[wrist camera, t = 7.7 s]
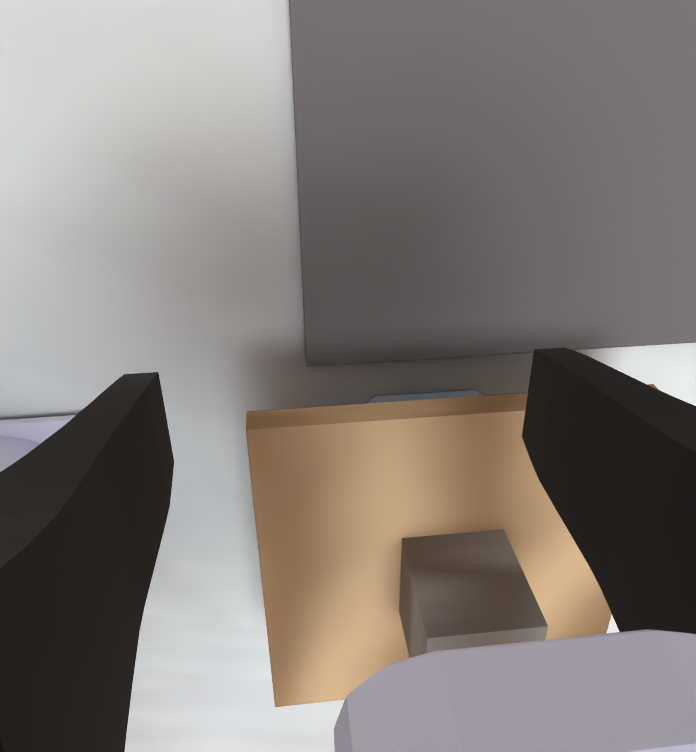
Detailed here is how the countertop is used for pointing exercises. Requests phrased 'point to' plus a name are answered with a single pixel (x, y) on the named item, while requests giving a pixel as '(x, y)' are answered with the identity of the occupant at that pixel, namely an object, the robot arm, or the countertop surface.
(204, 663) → the countertop surface
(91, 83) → the countertop surface
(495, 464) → the cover
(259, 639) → the countertop surface
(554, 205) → the mat
